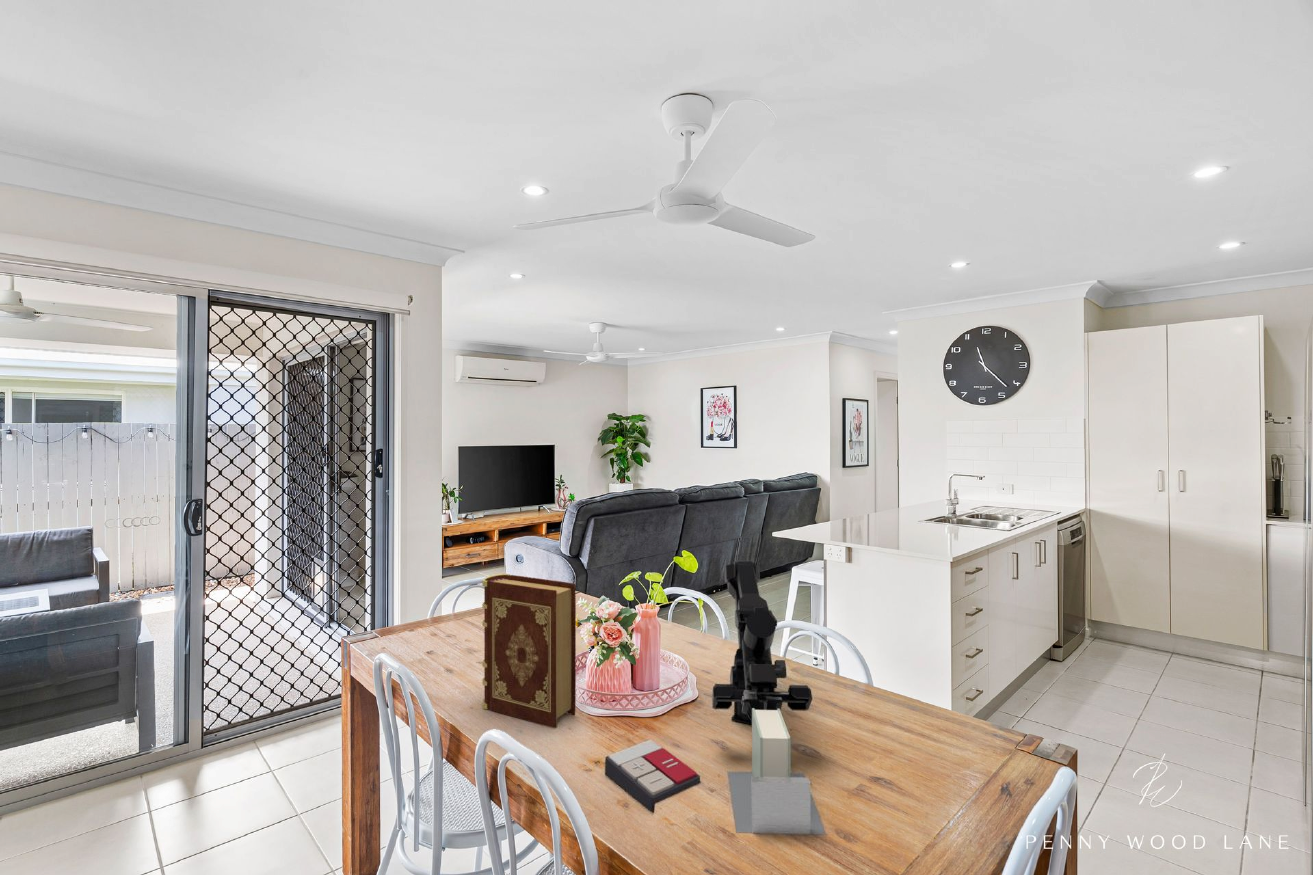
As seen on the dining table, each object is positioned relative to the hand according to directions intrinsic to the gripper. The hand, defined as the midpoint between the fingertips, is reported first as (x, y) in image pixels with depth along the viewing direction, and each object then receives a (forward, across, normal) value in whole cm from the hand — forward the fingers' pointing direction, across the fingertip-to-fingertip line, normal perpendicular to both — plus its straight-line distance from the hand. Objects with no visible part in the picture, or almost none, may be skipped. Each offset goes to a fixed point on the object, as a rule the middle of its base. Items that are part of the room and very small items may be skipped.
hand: (765, 743), depth 113 cm
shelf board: (+11, 0, -1) cm, 11 cm away
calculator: (+6, -21, +5) cm, 22 cm away
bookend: (+16, 0, -8) cm, 17 cm away
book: (+8, 0, 0) cm, 8 cm away
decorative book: (-14, -51, +24) cm, 58 cm away
